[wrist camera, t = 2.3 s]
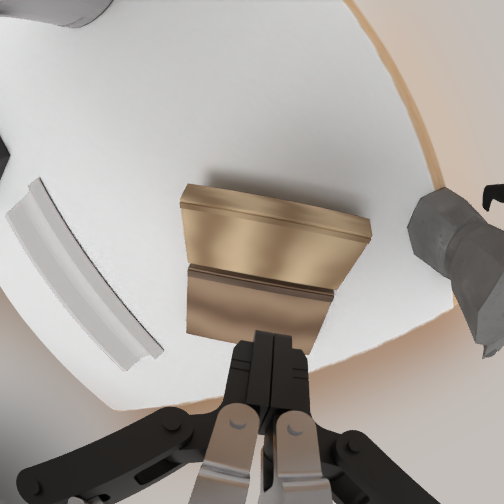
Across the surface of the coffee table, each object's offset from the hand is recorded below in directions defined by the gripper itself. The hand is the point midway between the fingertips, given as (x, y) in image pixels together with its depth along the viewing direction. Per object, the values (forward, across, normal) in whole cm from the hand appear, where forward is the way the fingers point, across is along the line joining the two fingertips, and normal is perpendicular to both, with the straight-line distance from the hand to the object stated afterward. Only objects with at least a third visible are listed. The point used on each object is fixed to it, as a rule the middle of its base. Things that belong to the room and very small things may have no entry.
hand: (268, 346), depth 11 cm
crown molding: (+19, +26, +16) cm, 37 cm away
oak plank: (+16, 0, +2) cm, 16 cm away
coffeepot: (+19, -19, -3) cm, 27 cm away
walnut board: (+18, 0, +13) cm, 22 cm away
